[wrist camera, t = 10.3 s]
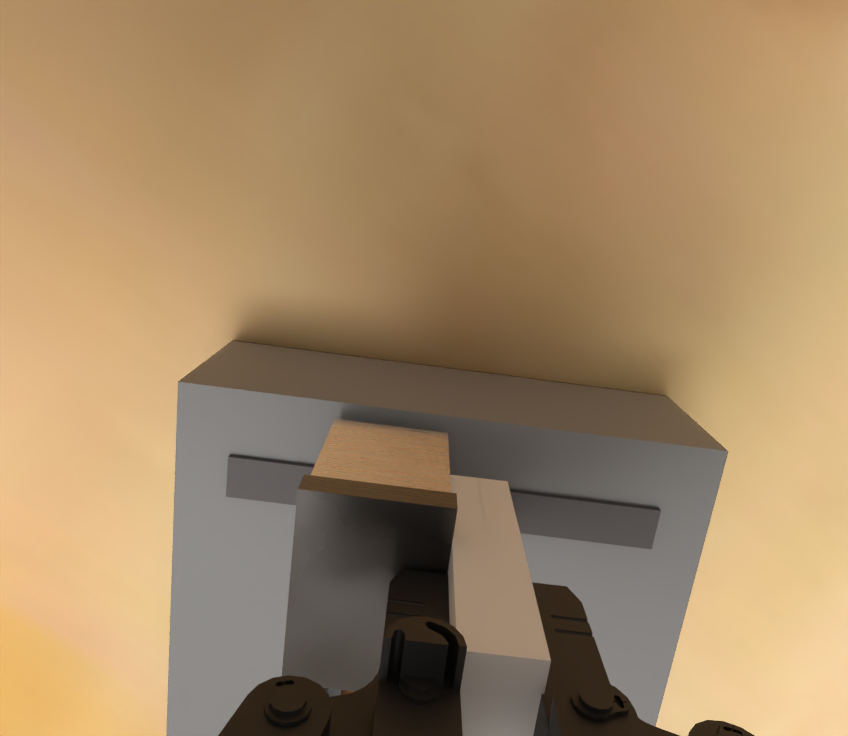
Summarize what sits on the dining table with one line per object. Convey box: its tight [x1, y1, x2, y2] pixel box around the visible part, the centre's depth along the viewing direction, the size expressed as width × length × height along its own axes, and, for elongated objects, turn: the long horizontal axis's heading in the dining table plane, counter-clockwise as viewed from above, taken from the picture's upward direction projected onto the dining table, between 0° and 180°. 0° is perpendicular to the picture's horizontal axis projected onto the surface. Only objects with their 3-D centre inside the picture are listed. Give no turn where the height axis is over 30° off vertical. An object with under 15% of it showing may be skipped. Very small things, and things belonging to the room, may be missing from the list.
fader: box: [282, 419, 458, 692], centre depth 16 cm, size 3×5×4 cm
